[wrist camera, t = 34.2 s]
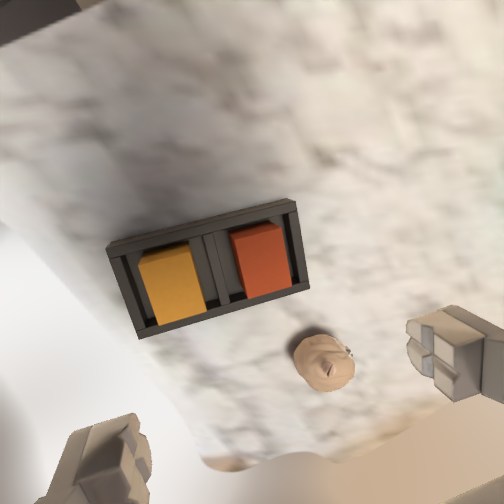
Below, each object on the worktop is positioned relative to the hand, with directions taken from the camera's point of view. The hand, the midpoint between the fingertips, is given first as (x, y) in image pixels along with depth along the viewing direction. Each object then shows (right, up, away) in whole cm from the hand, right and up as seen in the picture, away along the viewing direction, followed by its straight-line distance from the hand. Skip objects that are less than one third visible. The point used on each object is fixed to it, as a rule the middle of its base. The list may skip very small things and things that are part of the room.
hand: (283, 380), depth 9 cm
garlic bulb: (+7, -8, +29) cm, 31 cm away
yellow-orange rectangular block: (-9, +1, +22) cm, 24 cm away
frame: (-5, +3, +24) cm, 24 cm away
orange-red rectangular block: (-1, +4, +24) cm, 24 cm away
